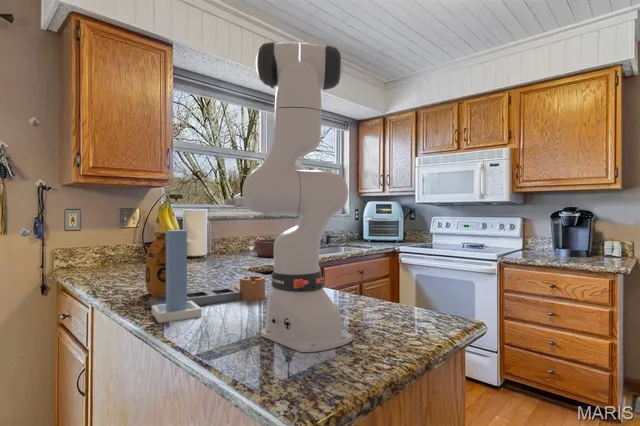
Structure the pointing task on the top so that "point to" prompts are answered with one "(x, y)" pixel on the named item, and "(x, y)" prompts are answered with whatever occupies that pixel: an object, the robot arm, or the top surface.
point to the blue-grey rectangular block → (176, 270)
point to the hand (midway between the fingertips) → (229, 201)
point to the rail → (204, 297)
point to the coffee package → (156, 266)
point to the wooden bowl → (265, 247)
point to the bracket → (251, 288)
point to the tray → (176, 312)
